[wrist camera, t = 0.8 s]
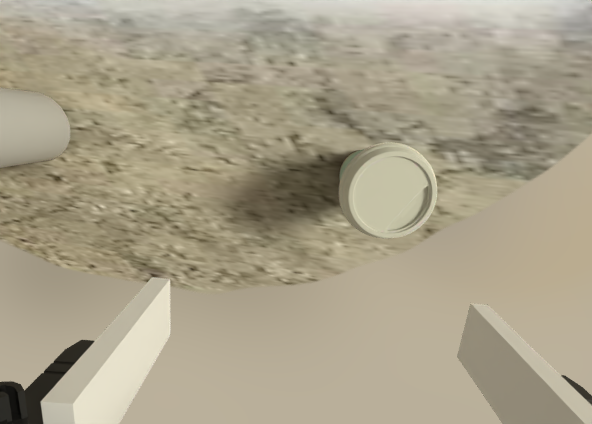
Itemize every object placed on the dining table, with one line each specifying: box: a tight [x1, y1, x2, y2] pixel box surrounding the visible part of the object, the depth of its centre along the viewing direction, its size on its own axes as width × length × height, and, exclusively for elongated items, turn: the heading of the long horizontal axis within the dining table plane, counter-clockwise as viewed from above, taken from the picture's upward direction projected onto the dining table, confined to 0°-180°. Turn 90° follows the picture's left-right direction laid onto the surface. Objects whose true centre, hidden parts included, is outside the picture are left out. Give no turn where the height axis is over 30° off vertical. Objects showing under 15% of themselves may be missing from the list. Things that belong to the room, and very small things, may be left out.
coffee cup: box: [339, 142, 437, 238], centre depth 34 cm, size 8×9×12 cm
